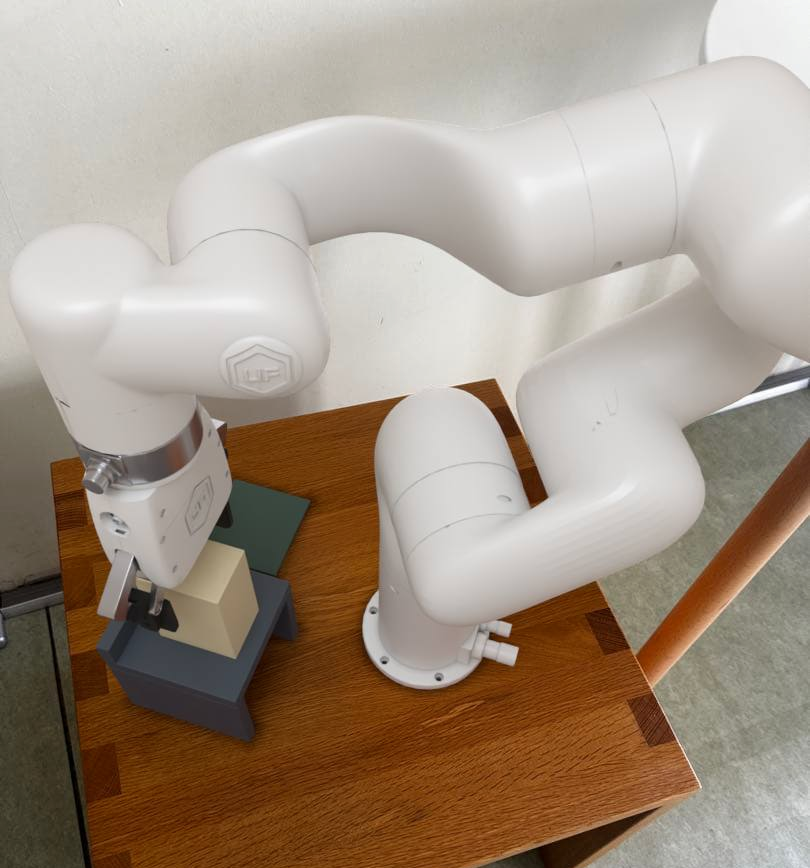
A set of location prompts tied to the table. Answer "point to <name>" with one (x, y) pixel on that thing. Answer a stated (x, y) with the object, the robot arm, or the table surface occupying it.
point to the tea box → (213, 601)
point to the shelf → (198, 665)
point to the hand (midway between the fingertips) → (187, 570)
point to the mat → (261, 525)
